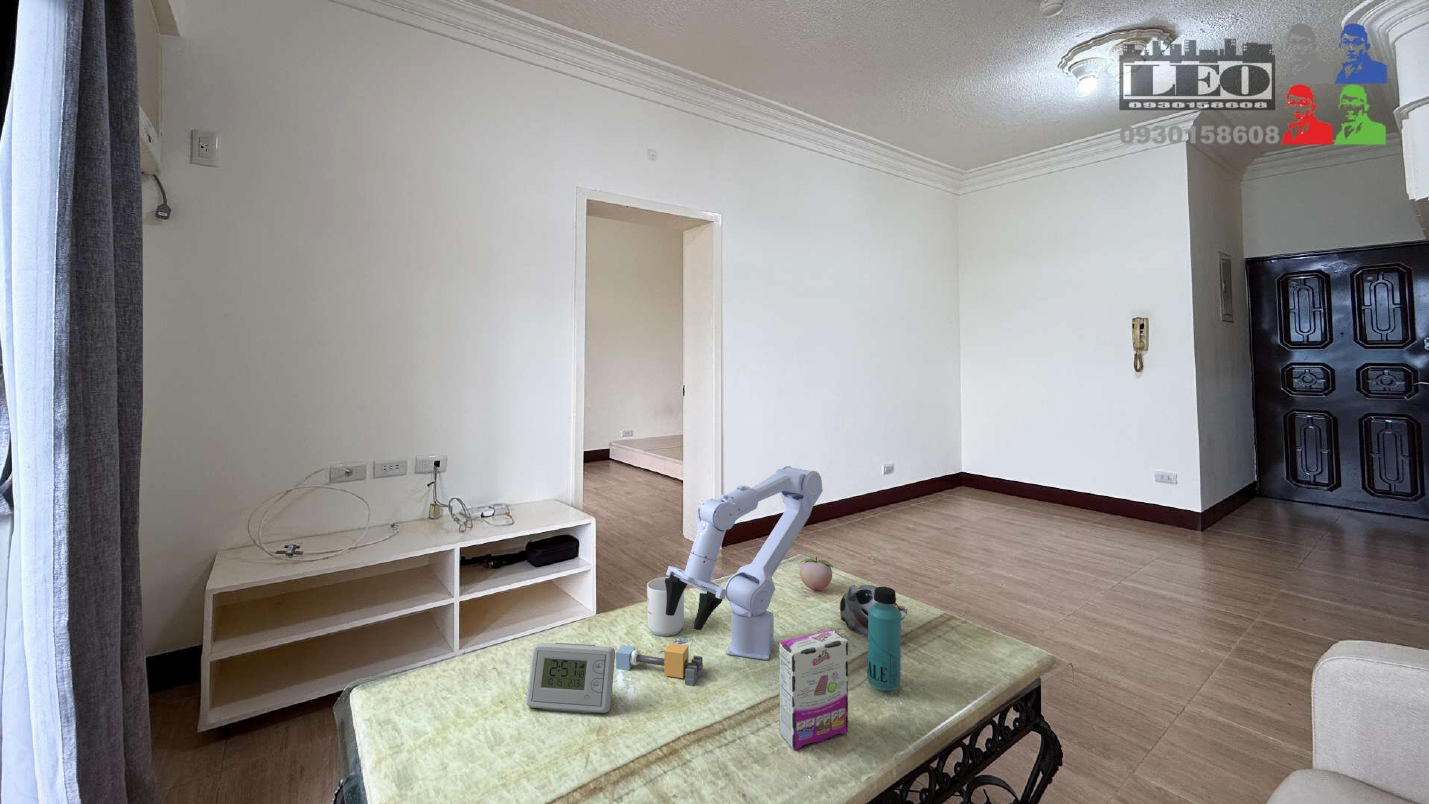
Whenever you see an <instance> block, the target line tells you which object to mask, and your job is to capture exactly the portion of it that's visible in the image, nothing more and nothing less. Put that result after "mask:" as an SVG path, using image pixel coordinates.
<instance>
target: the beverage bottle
mask: <svg viewBox="0 0 1429 804" xmlns="http://www.w3.org/2000/svg"><path fill="white" fill-rule="evenodd" d="M876 587H877V588H875V591H874V600H875V601H876V602H878V603H875V604H873V605H872V606H871V607H870V608H869V609H868V622H867V623H868V629H867V633H868V635H866V637H867V646H866V647H867V649H866V652H867V658H866V663H867V670H866V677H867V681H868V683H869V684H870V686H872V687H874V688H876V689H878V690H882V691H894V690H897V689H898V688H899V687H900V684H901V675H902V674H901V673H902V668H901V666H902V659H901V658H902V650H901V640H902V639H901V633H902V631H901V630H902V620H901V616H902V615H901V612H900V611H899V610H898V609H897V608H896V607H895V606H894V605H892V604H894V603H895V602H896V603H897V597H896V590H894V589H893V588H892V587H888V586H876Z"/></svg>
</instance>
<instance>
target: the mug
mask: <svg viewBox="0 0 1429 804" xmlns="http://www.w3.org/2000/svg"><path fill="white" fill-rule="evenodd" d="M669 577H670V576H668V577H667V576H664V577H657V578H654V579H652V580H649V582H647V583H646V597H647V598H646V602H647V603H646V605H647V607H646V610H647V611H646V616H647V617H646V618H647V619H646V621H647V622H646V623H647V629H648V630H649V631H650V632H651V633H652V634H653V635H655V636H659V637H669V636H674V635H677V634H678V633H680V631H681V630H682V629H684V625H685V590H684V591H683V593H682V595H681V598H680V600H679V603H678V606H677V609H676V612H675V614H674V616H668V615H666V604H667V592H666V585H665V579H666V578H669Z"/></svg>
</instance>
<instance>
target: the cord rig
mask: <svg viewBox="0 0 1429 804" xmlns="http://www.w3.org/2000/svg"><path fill="white" fill-rule="evenodd" d="M703 661H704V660H703V655H702V656H701V655H695V654H694V655H693V658H691V660H690V662H689V661H688V662H684V669H686V670H685V676H684V686H685V685H686V686H694V685H695V683H697V681H698V678H699V677H700V675H701V673H702V671H703V670H704V663H703ZM639 663H642V664H649V665H656V666H661V667H664V657H657V656H651V655H646V654H645V655H644V654H641V652H640V650H636V646H632V645H623V644H622V645H621V646H620V647H619V649H617V651H615V668H616V669H618V670H623V671H630V670H631V668H633V666H638V665H639Z"/></svg>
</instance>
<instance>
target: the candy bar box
mask: <svg viewBox="0 0 1429 804" xmlns="http://www.w3.org/2000/svg"><path fill="white" fill-rule="evenodd" d="M848 641H849V640H848V639H847V638H845V637H844V636H842V635H841V634H839V632H837V631H836V630H834V629H826V630H823V631H819V632H814V633H811V634H807V635H802V636H797V637H793V638H789V639H785V640H781V641H779V645H778V647H779V649H778V650H779V652H778V654H779V655H778V656H779V657H778V658H779V659H778V661H779V662H778V663H779V667H778V668H779V669H778V670H779V673H778V674H779V676H778V677H779V733H780V734H779V735H781V737H782V738H783V739H784V740H785V741H786V743H787V744H788V745H789V746H790V748H791V749H792V750H793V751H798V750H801V749H803V748H806V747H810V746H813V745H816V744H818V743H821V742H825V741H827V740H830V739H833V738H836V737H838V736H841V735H845V734H848V733H849V690H848V689H849V661H848V660H849V656H848V655H849V648H848V647H849V642H848Z"/></svg>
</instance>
